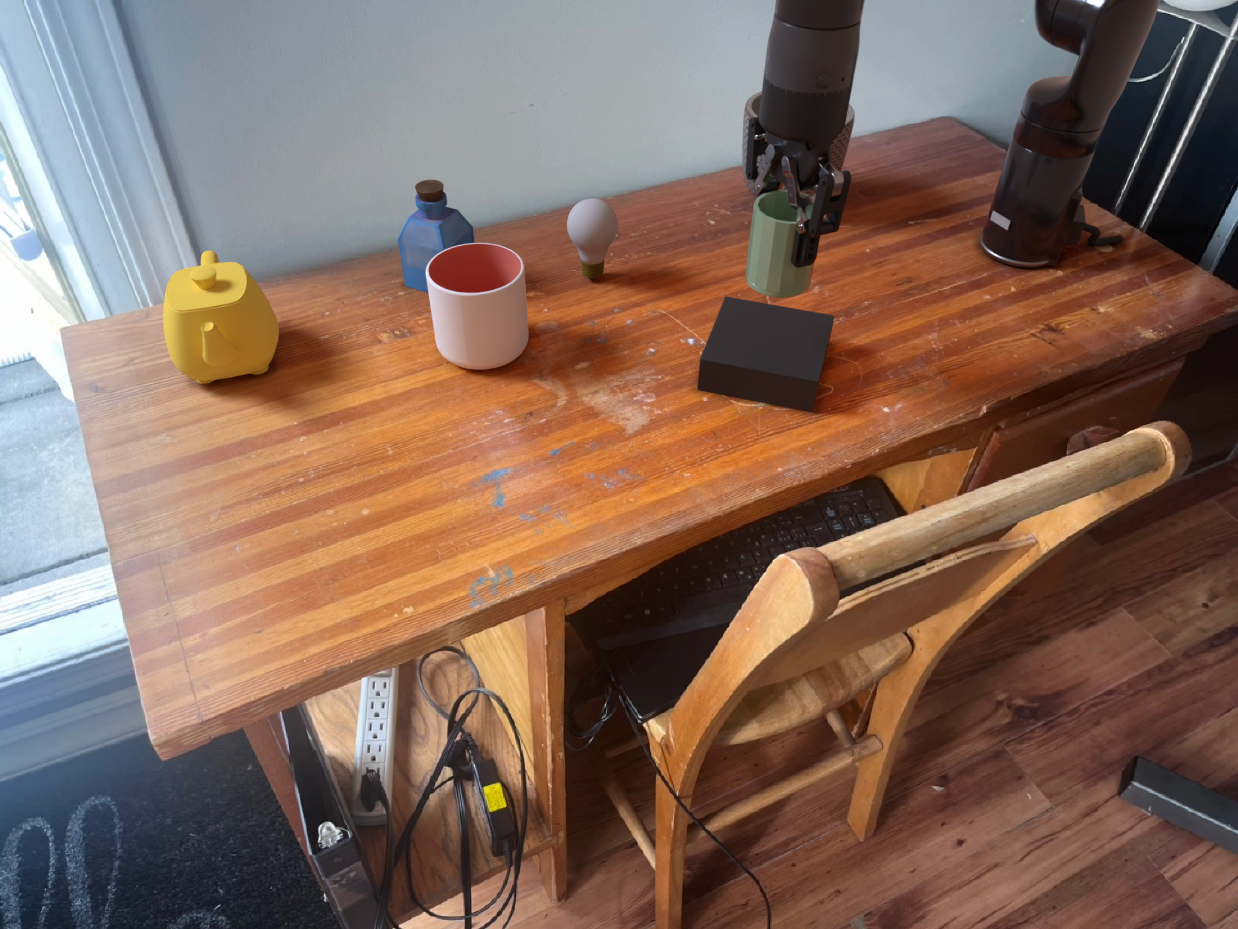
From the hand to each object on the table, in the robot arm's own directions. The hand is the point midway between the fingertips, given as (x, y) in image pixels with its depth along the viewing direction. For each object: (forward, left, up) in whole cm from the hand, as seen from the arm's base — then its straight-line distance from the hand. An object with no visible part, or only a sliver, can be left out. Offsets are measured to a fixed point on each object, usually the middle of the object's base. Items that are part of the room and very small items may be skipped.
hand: (782, 245), depth 91 cm
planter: (+4, -37, -15) cm, 40 cm away
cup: (+30, +6, -15) cm, 34 cm away
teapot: (+54, +17, -15) cm, 59 cm away
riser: (0, 0, -15) cm, 15 cm away
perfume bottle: (+40, -5, -15) cm, 43 cm away
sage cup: (0, 0, -4) cm, 4 cm away
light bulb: (+23, -11, -15) cm, 29 cm away
